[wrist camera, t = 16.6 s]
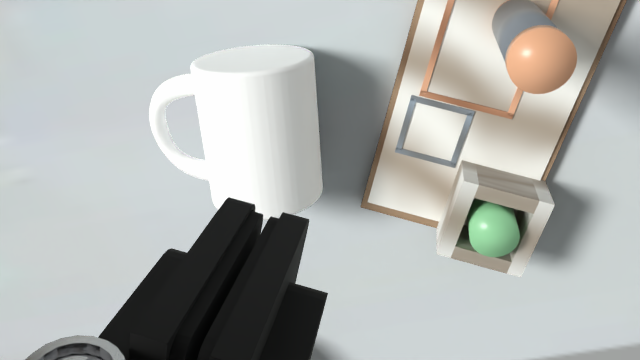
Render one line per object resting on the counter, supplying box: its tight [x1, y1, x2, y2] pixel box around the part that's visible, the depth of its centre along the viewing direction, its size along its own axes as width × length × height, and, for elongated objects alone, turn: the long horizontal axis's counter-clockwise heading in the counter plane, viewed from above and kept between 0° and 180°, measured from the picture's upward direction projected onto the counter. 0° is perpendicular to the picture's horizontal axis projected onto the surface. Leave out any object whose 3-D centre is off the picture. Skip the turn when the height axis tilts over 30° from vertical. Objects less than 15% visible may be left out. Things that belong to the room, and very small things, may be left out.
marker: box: [492, 0, 577, 94], centre depth 30 cm, size 3×3×10 cm
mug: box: [149, 44, 323, 220], centre depth 38 cm, size 12×10×8 cm
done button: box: [467, 198, 520, 257], centre depth 38 cm, size 3×3×3 cm
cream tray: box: [361, 0, 627, 277], centre depth 36 cm, size 22×12×4 cm, turn 168°
